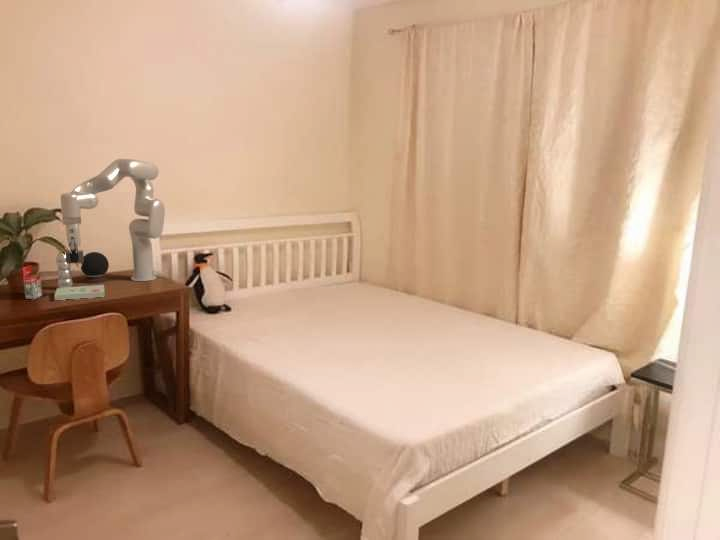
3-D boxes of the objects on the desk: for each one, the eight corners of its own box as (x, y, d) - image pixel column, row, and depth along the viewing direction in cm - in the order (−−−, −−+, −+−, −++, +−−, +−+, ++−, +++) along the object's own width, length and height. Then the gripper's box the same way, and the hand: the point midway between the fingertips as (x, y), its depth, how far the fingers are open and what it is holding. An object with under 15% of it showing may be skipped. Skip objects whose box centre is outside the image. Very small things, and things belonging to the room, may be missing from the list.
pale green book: (104, 289, 270) (103, 283, 269) (104, 297, 256) (103, 290, 255) (57, 293, 261) (56, 286, 261) (54, 301, 248) (54, 293, 247)
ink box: (42, 295, 257) (39, 264, 254) (33, 300, 249) (30, 268, 246) (34, 295, 257) (31, 264, 254) (25, 300, 249) (21, 267, 246)
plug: (84, 265, 259) (82, 250, 258) (83, 267, 255) (82, 252, 253) (67, 265, 256) (65, 250, 255) (66, 268, 252) (65, 252, 250)
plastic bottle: (74, 286, 274) (70, 246, 270) (72, 289, 268) (68, 248, 264) (59, 287, 272) (55, 246, 268) (57, 290, 266) (53, 249, 262)
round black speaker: (82, 279, 290) (79, 250, 287) (110, 277, 296) (108, 249, 292) (80, 284, 279) (78, 255, 276) (109, 282, 284) (107, 253, 281)
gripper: (80, 223, 245) (83, 263, 249) (81, 218, 260) (84, 257, 264) (61, 223, 242) (64, 264, 246) (63, 219, 257) (66, 257, 261)
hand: (74, 260), depth 255 cm, fingers closed on plug, 5 cm apart
